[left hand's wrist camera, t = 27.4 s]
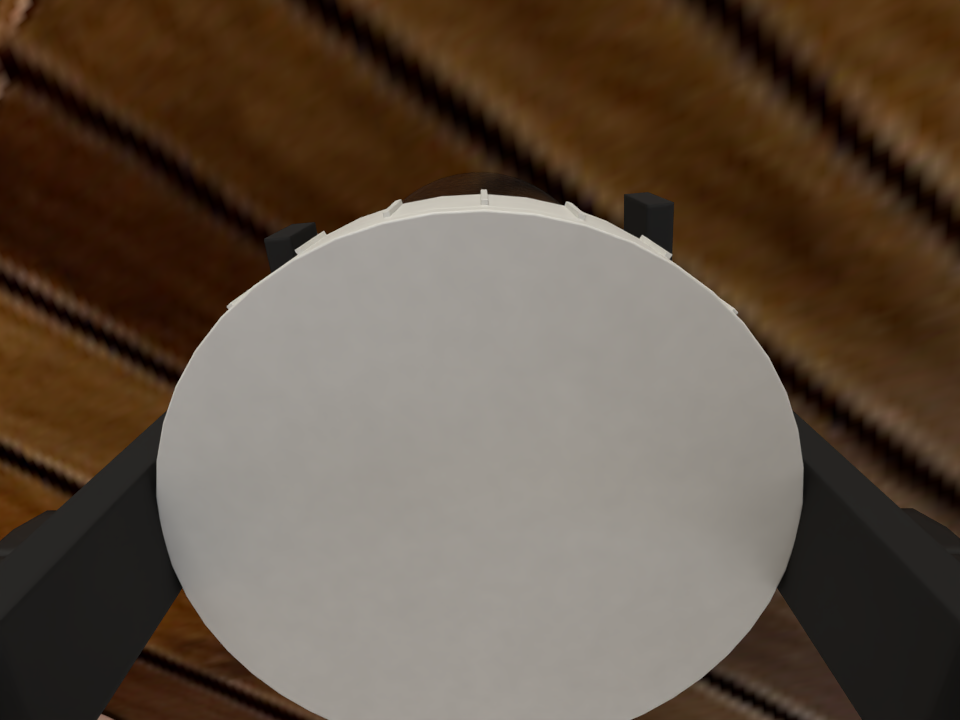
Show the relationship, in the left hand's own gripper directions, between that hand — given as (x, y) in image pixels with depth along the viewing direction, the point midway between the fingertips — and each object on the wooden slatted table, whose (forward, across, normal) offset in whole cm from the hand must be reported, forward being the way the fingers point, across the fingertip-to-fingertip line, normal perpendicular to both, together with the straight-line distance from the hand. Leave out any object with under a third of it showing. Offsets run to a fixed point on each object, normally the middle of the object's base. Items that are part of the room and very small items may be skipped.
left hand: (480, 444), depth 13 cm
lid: (-3, 0, 0) cm, 3 cm away
